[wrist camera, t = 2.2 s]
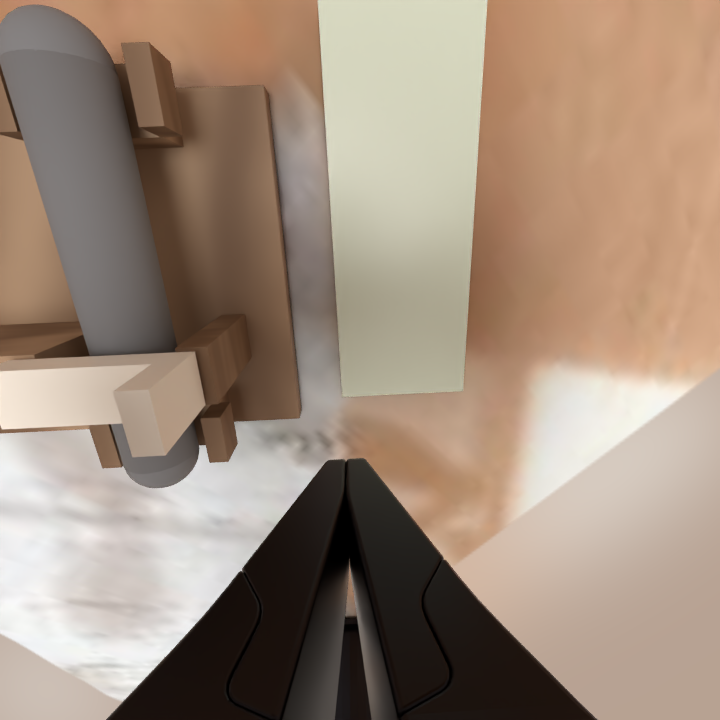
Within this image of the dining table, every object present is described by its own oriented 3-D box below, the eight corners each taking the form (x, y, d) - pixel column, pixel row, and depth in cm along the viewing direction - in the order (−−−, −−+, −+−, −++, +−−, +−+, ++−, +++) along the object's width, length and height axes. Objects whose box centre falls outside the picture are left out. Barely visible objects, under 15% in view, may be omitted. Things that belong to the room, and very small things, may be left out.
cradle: (267, 87, 17) (221, 7, 10) (301, 412, 22) (284, 484, 16) (-120, 101, 16) (-400, 26, 10) (14, 427, 22) (-115, 505, 16)
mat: (482, 1, 16) (487, -7, 15) (460, 387, 22) (463, 391, 21) (318, 7, 16) (317, -2, 15) (342, 392, 22) (342, 397, 21)
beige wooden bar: (194, 351, 14) (148, 389, 11) (205, 404, 14) (165, 455, 11) (8, 360, 14) (-96, 401, 10) (29, 413, 14) (-62, 467, 11)
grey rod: (125, 33, 13) (61, -23, 10) (213, 459, 20) (189, 501, 17) (36, 36, 13) (-55, -20, 10) (152, 462, 20) (117, 505, 17)
